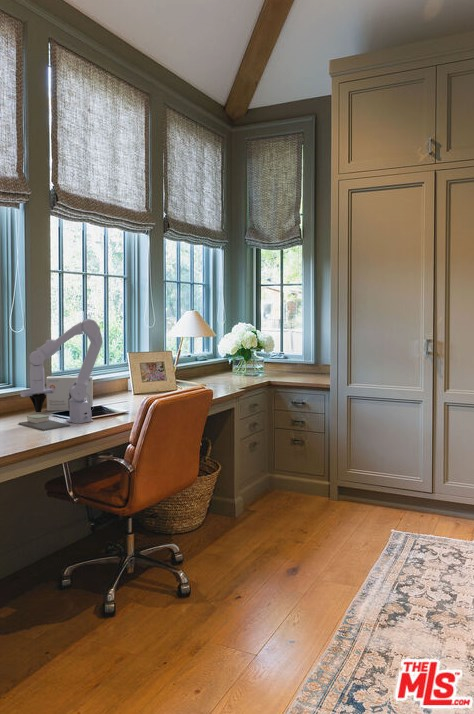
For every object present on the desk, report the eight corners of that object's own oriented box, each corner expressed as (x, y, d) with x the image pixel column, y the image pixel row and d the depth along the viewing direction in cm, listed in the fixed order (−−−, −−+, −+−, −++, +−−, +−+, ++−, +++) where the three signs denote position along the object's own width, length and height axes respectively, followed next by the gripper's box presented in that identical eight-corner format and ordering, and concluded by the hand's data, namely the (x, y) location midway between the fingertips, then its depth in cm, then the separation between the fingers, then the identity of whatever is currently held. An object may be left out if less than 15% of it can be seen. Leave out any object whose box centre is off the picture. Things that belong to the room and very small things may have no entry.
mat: (70, 426, 247) (70, 424, 247) (43, 430, 238) (43, 429, 238) (44, 420, 261) (44, 418, 260) (18, 424, 252) (18, 422, 252)
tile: (35, 423, 251) (48, 420, 255) (35, 418, 251) (48, 416, 255) (27, 420, 256) (39, 418, 260) (26, 416, 255) (39, 414, 260)
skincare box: (46, 411, 283) (45, 377, 281) (47, 409, 288) (47, 376, 286) (92, 409, 287) (92, 376, 285) (93, 407, 292) (92, 375, 291)
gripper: (47, 377, 259) (48, 408, 261) (16, 380, 249) (17, 413, 250) (56, 378, 255) (57, 410, 256) (25, 382, 244) (26, 415, 245)
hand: (38, 412), depth 253 cm, fingers closed
